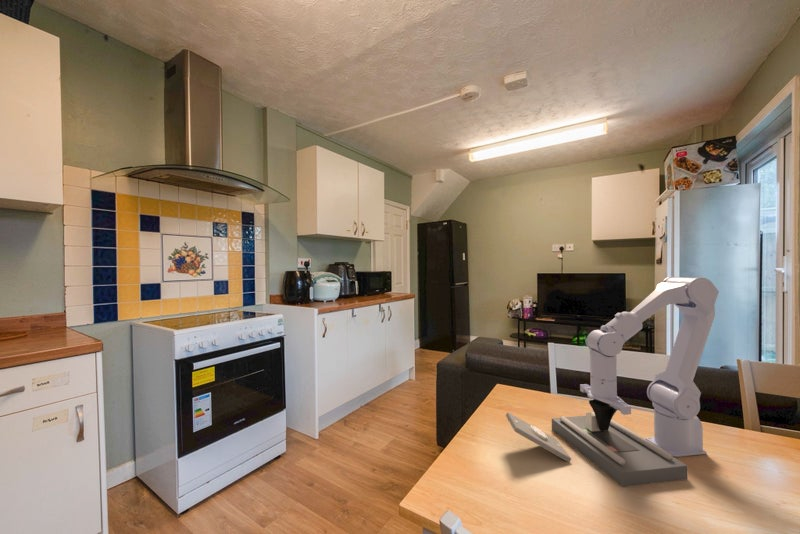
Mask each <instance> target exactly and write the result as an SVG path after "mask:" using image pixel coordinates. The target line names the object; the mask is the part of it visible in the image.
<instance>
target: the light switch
mask: <svg viewBox="0 0 800 534" xmlns="http://www.w3.org/2000/svg"><path fill="white" fill-rule="evenodd" d="M505 417H506V419H507V420H508V422H509V424H510V425H511V427H512V429H513V431H514V432H515V433H517V434H518V435H520V436H522V437H524V438H526V439H527V440H529V441H531V442H532V443H534V444H536V445H538V446H539V447H541V448H543V449H545V450H547V451H548V452H550V453H552V454H554V455H555V456H557V457H558V458H560V459H562V460H564V461H566V462H568V463H570V462H571V461H572V457H570V455H569V454H568V453H567V451H566V450H565V449H564V447H563V446H562V445H561V444H560V443H559V442H560V441H558V440H557V439H556V438H555V437H553V436H551V435H550V434H548V433H545V432H544V431H543V430H541V429H540V428H538V426H536V425H535V426H534V425H533V424H530V423H528V422H527V421H524V420H523V419H521V418H519V417H518V416H516V415H514V414H512V413H511V412H507V413H506V415H505Z"/></svg>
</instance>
